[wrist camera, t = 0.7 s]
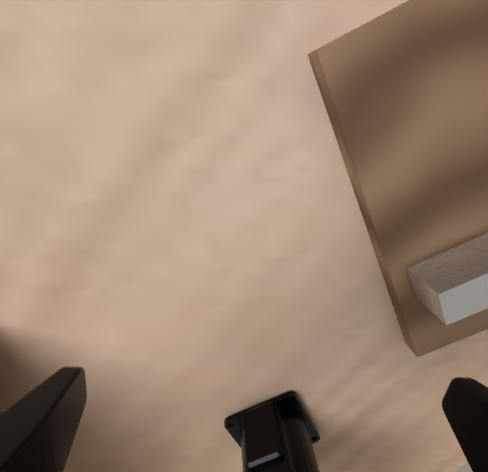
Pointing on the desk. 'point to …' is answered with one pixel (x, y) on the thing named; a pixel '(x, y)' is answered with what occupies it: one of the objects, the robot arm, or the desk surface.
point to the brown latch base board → (414, 142)
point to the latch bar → (454, 281)
